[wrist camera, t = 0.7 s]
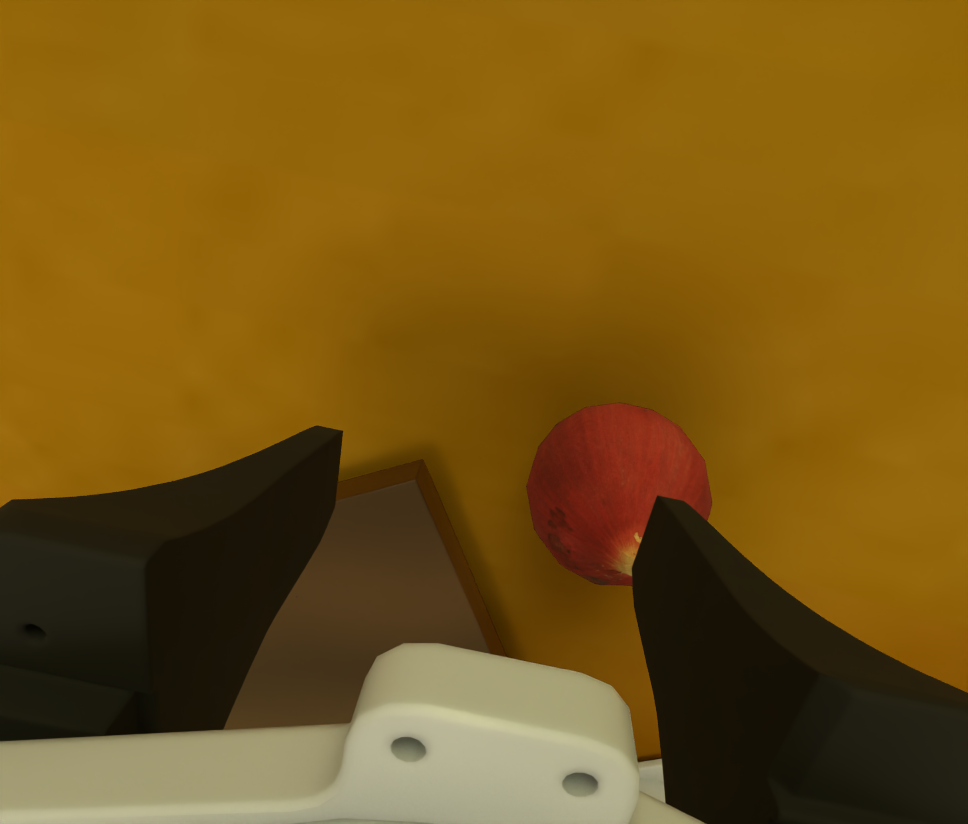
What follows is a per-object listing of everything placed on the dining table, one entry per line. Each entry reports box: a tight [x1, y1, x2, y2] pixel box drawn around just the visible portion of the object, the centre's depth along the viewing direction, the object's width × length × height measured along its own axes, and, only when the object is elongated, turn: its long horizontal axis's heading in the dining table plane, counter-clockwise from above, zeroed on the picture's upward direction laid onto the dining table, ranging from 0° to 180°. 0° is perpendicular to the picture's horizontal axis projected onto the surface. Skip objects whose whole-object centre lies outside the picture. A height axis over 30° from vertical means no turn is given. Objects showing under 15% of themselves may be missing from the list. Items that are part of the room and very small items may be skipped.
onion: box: [526, 403, 712, 586], centre depth 20 cm, size 6×6×8 cm
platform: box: [223, 459, 506, 730], centre depth 28 cm, size 15×20×3 cm
